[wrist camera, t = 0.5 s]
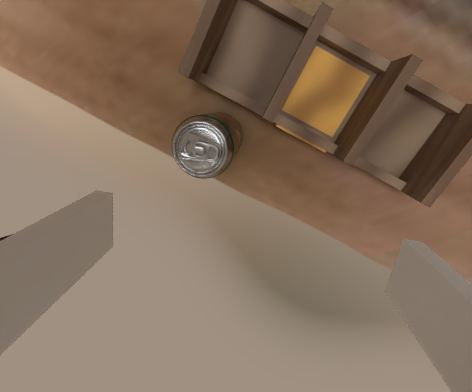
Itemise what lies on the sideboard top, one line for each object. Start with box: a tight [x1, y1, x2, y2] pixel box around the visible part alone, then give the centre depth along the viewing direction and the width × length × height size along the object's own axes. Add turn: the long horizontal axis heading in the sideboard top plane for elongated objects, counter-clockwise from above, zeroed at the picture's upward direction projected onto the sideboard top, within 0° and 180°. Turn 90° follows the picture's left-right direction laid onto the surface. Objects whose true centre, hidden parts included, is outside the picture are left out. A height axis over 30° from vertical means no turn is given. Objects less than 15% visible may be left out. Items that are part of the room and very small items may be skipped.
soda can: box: [172, 113, 242, 178], centre depth 27 cm, size 5×5×12 cm
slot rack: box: [178, 0, 472, 207], centre depth 28 cm, size 26×10×7 cm, turn 63°
